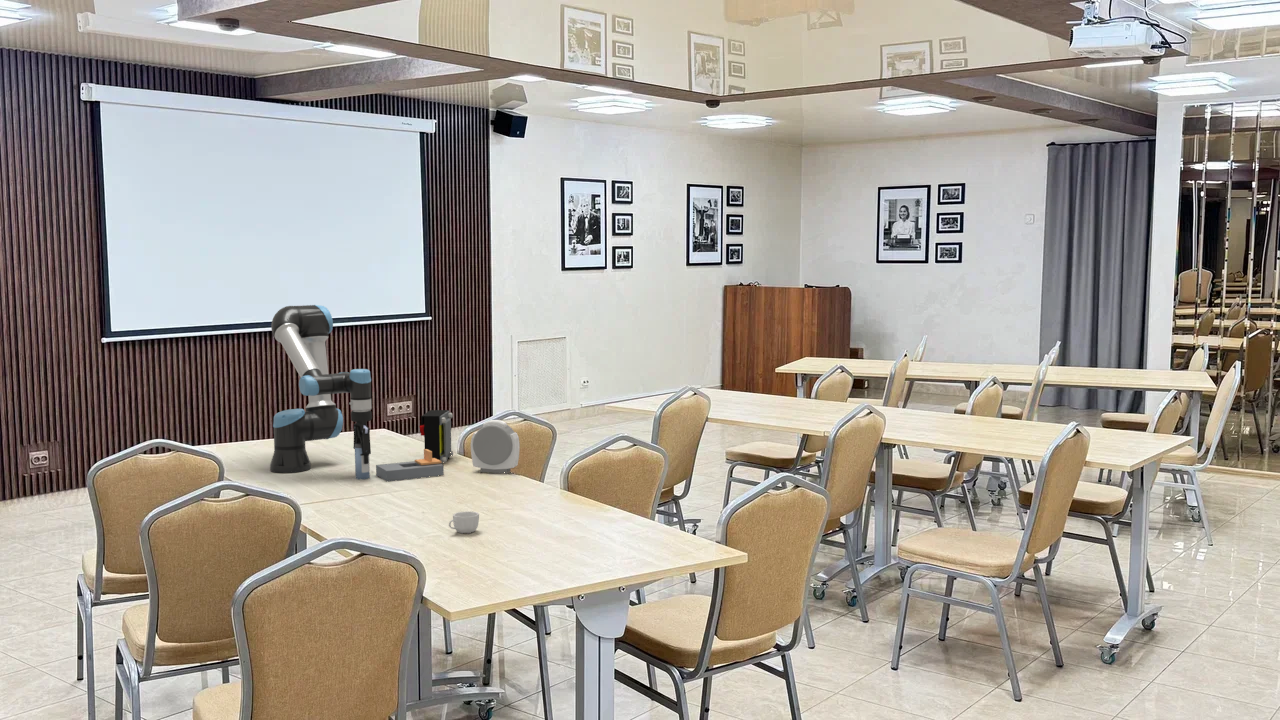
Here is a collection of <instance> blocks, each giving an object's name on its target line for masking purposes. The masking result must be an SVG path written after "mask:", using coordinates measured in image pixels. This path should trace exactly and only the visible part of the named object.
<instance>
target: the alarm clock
mask: <svg viewBox="0 0 1280 720" xmlns="http://www.w3.org/2000/svg"><path fill="white" fill-rule="evenodd" d="M520 447H521V446H520V437H519V435H518V433H517V432H515V431H514V429H513V428H512V427H511V426H510V425H508V424H507V422H505V421H503V420H501V419H490V420H488V421H485V422H484V423H483V424H482V427H481V428H479V429H478V430H477V431H475V432H473V434H472V436H471V440H470V454H471V455H470V456H471V461H472V467H474V468H479V469H480V471H479V472H493V473H492V474H501V473H504V472H505V474H506V475H507V474H509V473H510V472H511V469H513V468H515V467H517V466H518V464H519V459H520Z"/></svg>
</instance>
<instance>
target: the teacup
mask: <svg viewBox="0 0 1280 720" xmlns="http://www.w3.org/2000/svg"><path fill="white" fill-rule="evenodd" d="M479 519H480V513H479V512H477V511H474V510H473V511H472V510H471V511H468V510H467V511H458V512H455V513H452V519H450V521H449V522H448V527H449V528H450V529H452V530H455V531H456V532H458V533H459V534H463V533H467V534H472V533H474V532H475V531H476V530H477V529H478V528H479ZM452 522H453V523H452ZM451 523H452V524H453V526H452V525H451ZM471 532H472V533H471Z"/></svg>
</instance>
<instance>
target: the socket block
mask: <svg viewBox="0 0 1280 720" xmlns="http://www.w3.org/2000/svg"><path fill="white" fill-rule="evenodd" d="M444 471H445V470H444V464H440V463H439V464H429V465H420V464H418V463H416V462H415V460H414V461H403V462H402V461H401V462H400V461H399V462H393V463H392V462H391V463H383V464H375V475H376V476H377V477H378V476H379V479H382V480H383V479H384V481H385V482H387V481H388V482H396V481H395V480H397V481H405V480H404V479H407V480H414V479H413V478H417V479H422V478H421V477H426V478H430V477H429V476H436V477H439V476H438V475H444V473H445V472H444Z"/></svg>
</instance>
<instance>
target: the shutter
mask: <svg viewBox="0 0 1280 720" xmlns="http://www.w3.org/2000/svg"><path fill="white" fill-rule="evenodd" d="M414 461H415V462H416V463H418V464H420V465H429V464H439V463H442V461H440V460H438V459H436V458H432V451H430V450H428V449H425V448H424V449H423V458H420V459H414Z"/></svg>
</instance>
